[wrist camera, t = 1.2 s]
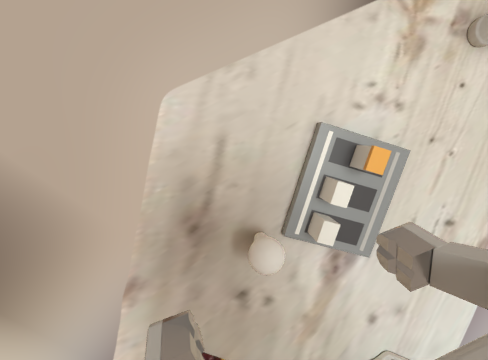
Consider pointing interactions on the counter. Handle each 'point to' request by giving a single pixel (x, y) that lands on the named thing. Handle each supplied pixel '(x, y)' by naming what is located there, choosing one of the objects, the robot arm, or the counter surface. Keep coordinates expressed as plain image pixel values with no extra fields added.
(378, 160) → the block
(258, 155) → the counter surface
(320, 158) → the panel
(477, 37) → the bottle
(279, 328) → the counter surface
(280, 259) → the lightbulb
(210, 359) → the juice carton
